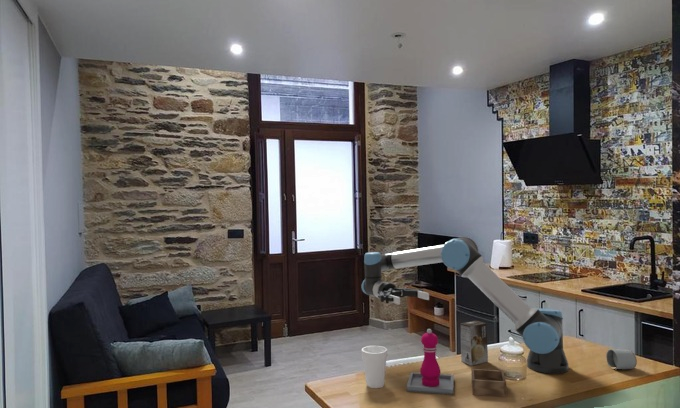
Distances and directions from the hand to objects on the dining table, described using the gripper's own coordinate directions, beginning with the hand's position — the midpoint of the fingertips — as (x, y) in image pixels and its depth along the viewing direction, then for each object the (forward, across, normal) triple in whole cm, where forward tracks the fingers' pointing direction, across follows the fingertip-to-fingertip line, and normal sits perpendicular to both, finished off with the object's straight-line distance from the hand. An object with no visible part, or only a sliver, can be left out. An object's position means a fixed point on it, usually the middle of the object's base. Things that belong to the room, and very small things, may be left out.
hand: (414, 298), depth 181 cm
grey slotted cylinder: (+32, -73, -31) cm, 86 cm away
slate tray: (+11, +2, -30) cm, 32 cm away
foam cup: (0, +19, -30) cm, 35 cm away
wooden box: (+24, -14, -30) cm, 41 cm away
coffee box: (-1, -29, -30) cm, 42 cm away
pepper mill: (+11, +2, -29) cm, 31 cm away
